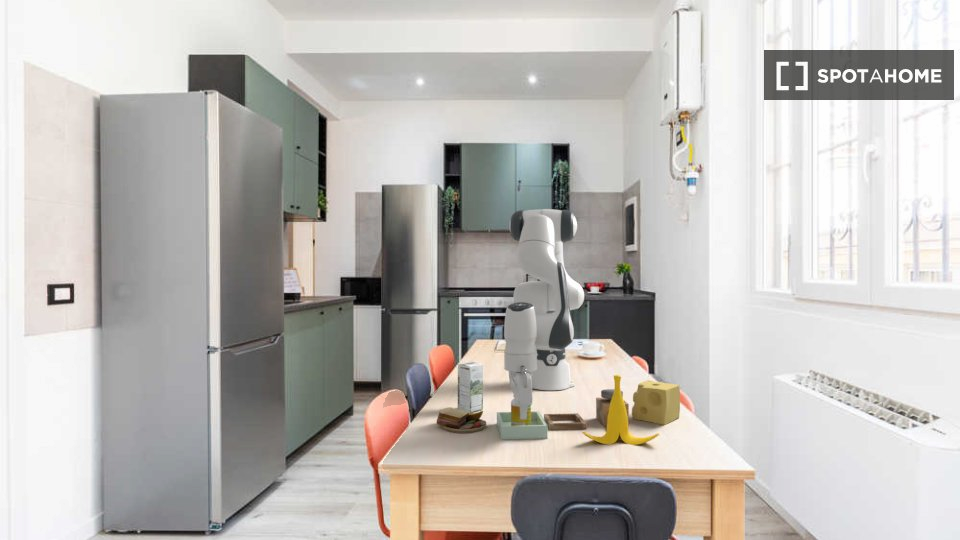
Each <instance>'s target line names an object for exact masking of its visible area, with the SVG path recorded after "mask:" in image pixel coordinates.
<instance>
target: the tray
mask: <svg viewBox="0 0 960 540" xmlns="http://www.w3.org/2000/svg"><path fill="white" fill-rule="evenodd" d="M496 426H497V429H498V432H499V436H500V437H499V438H500V440H501V441H502V440H539V439H540V440H541V439H542V440H543V439H548V425H547V424H546V422H545V420H544V417H543V416H542V414H541V413H540V411H539V410H537V411H536V410H535V411H533V410H531V425H518V426H511V411H497V412H496Z"/></svg>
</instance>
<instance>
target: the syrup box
mask: <svg viewBox="0 0 960 540" xmlns="http://www.w3.org/2000/svg"><path fill="white" fill-rule="evenodd" d="M483 408H484V365H483V364H482V363H479V362H475V361H469V362H463V363H459V364H457V409H459V410H462V411H466V412H469V413H477V412H481V411H483Z"/></svg>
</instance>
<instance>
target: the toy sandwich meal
mask: <svg viewBox="0 0 960 540" xmlns="http://www.w3.org/2000/svg"><path fill="white" fill-rule="evenodd" d="M483 412H484V411H483V410H480V411H477V412H472V413H469V412H466V411H462V410H459V409H458V408H453V407H444V408H442V409H440V410H439V414H438V416H437V418H436V424H437V425H439V426H441V427H442V428H443V429H444V430H446V431H447V432H451V433H456V434H457V433H458V434H468V433H470V434H471V433H475V432H479V431H481V430H483V429H484V428H485V427H486V426H487V421H486V420H484V419H481V417H482V416H483V414H484V413H483Z"/></svg>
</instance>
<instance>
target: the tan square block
mask: <svg viewBox="0 0 960 540" xmlns="http://www.w3.org/2000/svg"><path fill="white" fill-rule="evenodd" d="M614 389H615V388H614ZM614 389H613V388H612V389H611V388H610V389H609V388H608V389H607V388H606V389H603V390H601V391H600V393H601V395H600V397H595V408H596V410H595V413H596V415H595V418H596V419H597V421H598V422H599V423H600V424H601V425H603V427H607V418H608V411H609V406H610V402H611V399H612V396H613V394H614ZM621 394H622V397H623V395H624V392H623V391H622V390H621ZM623 398H624V397H623ZM624 403H625V407H626V411H627V417H628V427H629V426H630V424H629V423H630V422H629V421H630V420H629V418H630V415H629V414H630V413H629V411H630V410H629V407H630V406H629V403H627V401H625V400H624Z"/></svg>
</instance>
